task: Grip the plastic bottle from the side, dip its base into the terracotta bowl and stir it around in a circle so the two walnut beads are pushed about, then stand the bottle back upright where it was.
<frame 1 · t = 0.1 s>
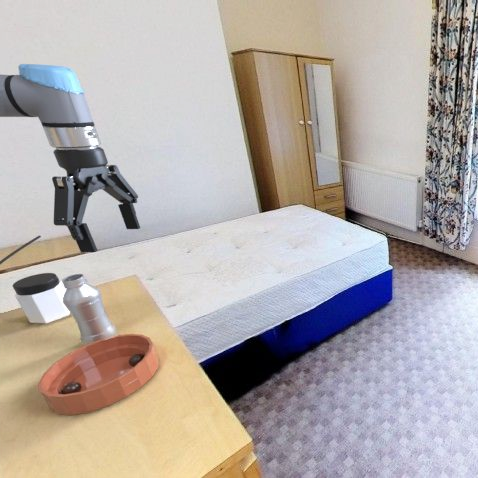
hand: (113, 239, 76), 29 cm above the table, tool pointing down, fingers open, 13 cm apart
jar: (53, 315, 94), on the table
bead b: (74, 394, 69), point 1 cm above the table, touching bowl
plastic bottle: (103, 344, 84), on the table
bead a: (139, 365, 77), point 1 cm above the table, touching bowl
bowl: (109, 381, 73), on the table
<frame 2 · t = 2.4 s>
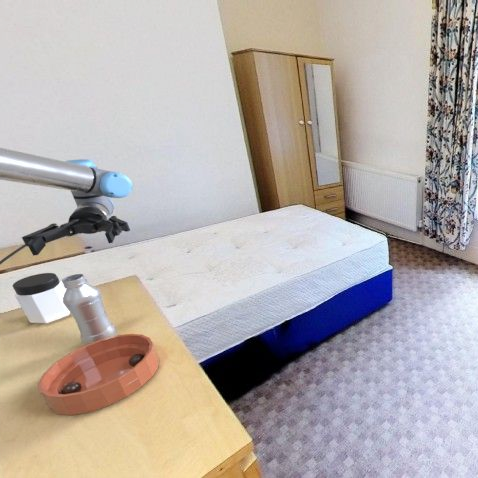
hand: (72, 244, 80), 25 cm above the table, tool horizontal, fingers open, 13 cm apart
nothing on the table moved.
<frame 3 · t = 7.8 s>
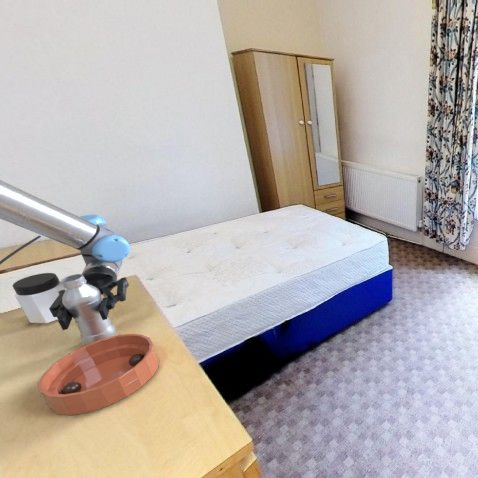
hand: (83, 319, 76), 11 cm above the table, tool horizontal, fingers closed on plastic bottle, 6 cm apart
plastic bottle: (104, 344, 84), on the table, touching gripper
everything else where it was.
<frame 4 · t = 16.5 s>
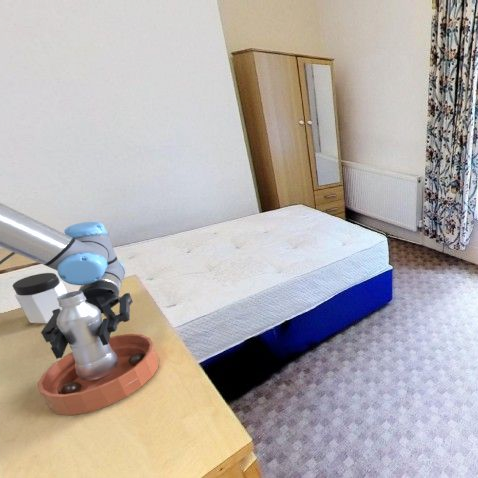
hand: (80, 346, 65), 13 cm above the table, tool horizontal, fingers closed on plastic bottle, 6 cm apart
plastic bottle: (101, 374, 72), point 2 cm above the table, touching gripper
bead a: (139, 364, 77), point 1 cm above the table, tilted 16°, touching bowl
everything else where it was.
when the fingers open (11 cm above the table, at t = 25.3 s): plastic bottle stays where it is, on the table.
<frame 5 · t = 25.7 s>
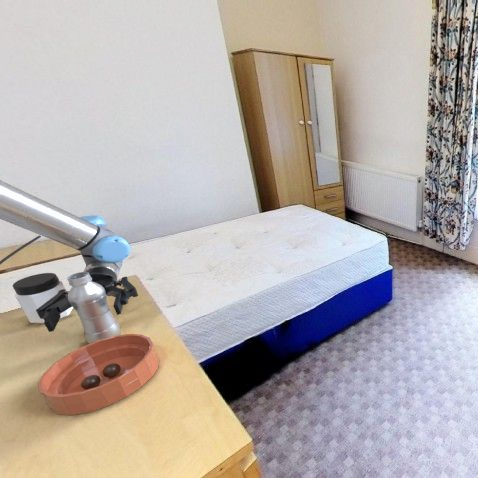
hand: (84, 318, 77), 11 cm above the table, tool horizontal, fingers open, 11 cm apart
bead b: (81, 382, 69), point 3 cm above the table, tilted 110°, touching bowl
plastic bottle: (107, 341, 85), on the table
bead a: (111, 366, 72), point 4 cm above the table, tilted 162°, touching bowl
everything else where it was.
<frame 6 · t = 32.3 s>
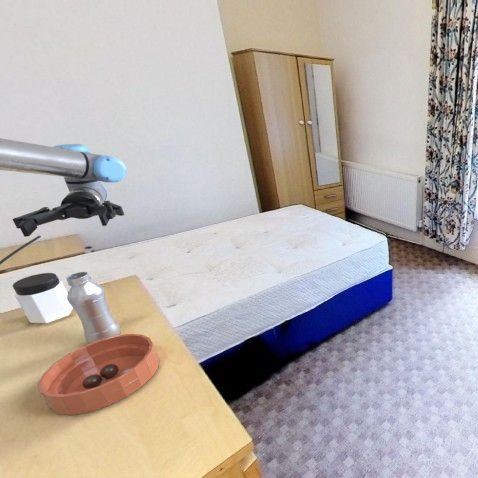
hand: (65, 225, 79), 30 cm above the table, tool horizontal, fingers open, 13 cm apart
bead b: (83, 381, 69), point 3 cm above the table, tilted 116°, touching bowl
bead a: (106, 367, 72), point 4 cm above the table, tilted 167°, touching bowl
everything else where it was.
at the end: bead a moved 5.8 cm from its start; plastic bottle inside the target area (1.0 cm from its centre), on the table; plastic bottle tilted 0° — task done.
